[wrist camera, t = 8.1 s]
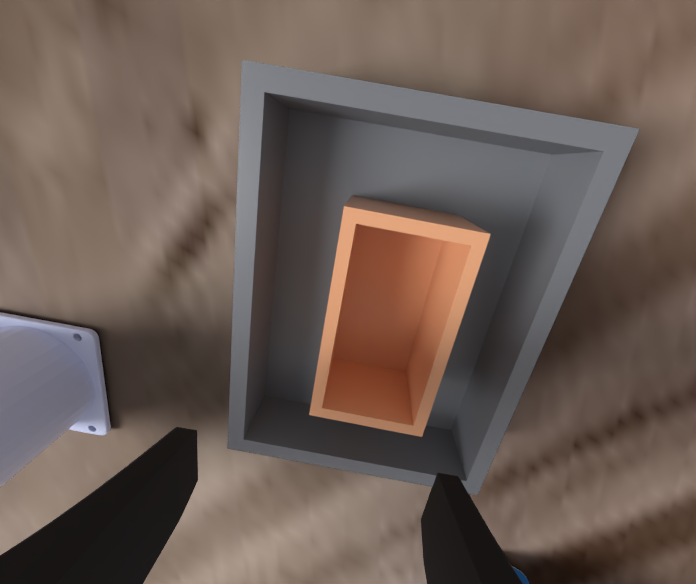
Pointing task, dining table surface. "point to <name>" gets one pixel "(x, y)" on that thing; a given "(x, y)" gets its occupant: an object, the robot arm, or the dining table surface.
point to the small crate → (393, 312)
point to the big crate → (417, 191)
